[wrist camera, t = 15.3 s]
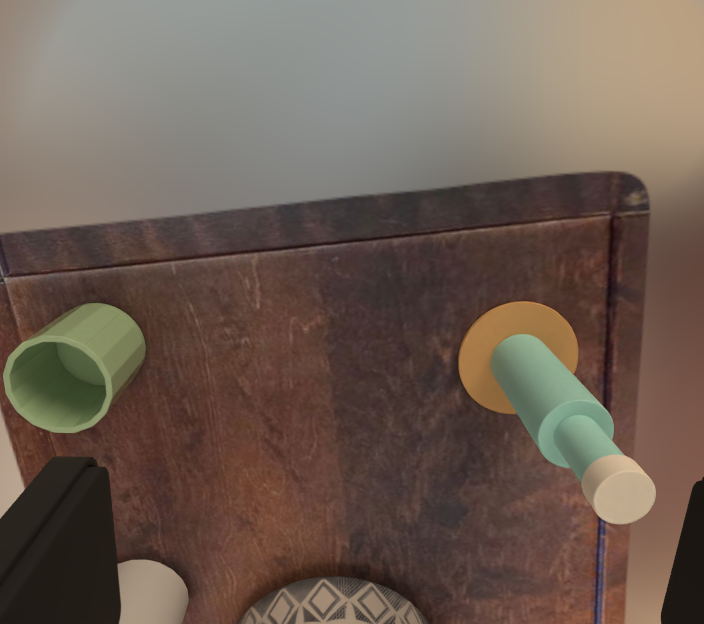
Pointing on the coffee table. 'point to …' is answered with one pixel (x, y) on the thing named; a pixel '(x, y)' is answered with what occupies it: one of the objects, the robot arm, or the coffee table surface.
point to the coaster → (498, 328)
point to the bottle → (571, 428)
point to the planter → (333, 604)
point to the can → (151, 593)
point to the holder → (75, 368)
